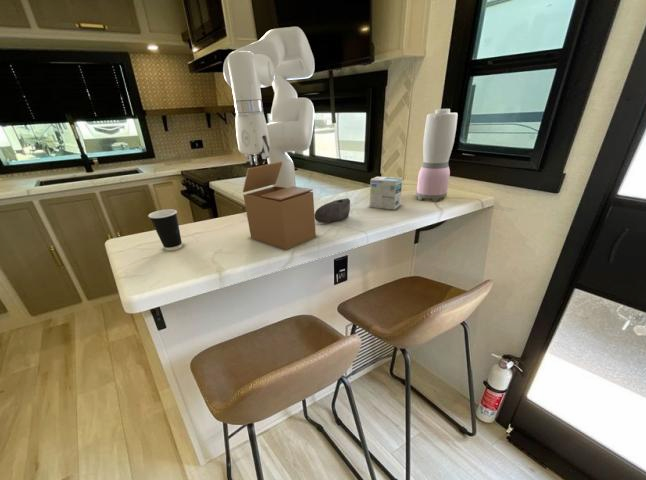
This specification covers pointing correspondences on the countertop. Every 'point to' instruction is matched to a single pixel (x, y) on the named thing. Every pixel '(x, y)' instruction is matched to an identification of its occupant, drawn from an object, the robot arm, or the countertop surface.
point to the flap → (261, 176)
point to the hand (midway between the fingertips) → (259, 178)
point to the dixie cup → (167, 228)
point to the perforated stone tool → (333, 211)
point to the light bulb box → (385, 192)
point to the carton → (281, 215)
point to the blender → (436, 154)
